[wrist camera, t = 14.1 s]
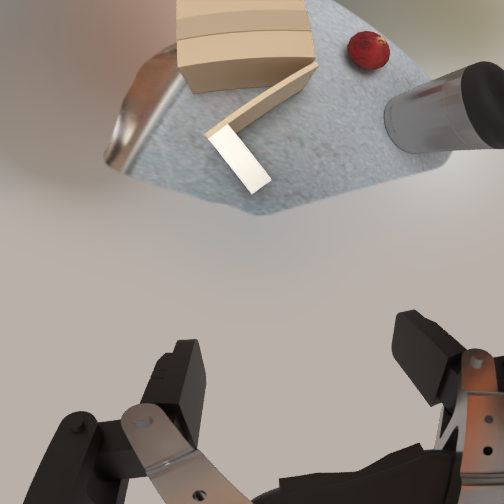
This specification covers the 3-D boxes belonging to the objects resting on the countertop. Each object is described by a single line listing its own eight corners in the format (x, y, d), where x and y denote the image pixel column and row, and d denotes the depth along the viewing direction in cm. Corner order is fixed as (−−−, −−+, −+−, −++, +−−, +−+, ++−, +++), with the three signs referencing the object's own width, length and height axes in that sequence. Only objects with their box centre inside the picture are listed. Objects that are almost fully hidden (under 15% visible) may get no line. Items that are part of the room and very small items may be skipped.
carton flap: (298, 86, 32) (315, 61, 24) (333, 130, 34) (359, 118, 25) (213, 145, 34) (204, 134, 25) (249, 190, 36) (252, 194, 27)
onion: (344, 74, 32) (366, 54, 25) (337, 41, 31) (356, 17, 23) (379, 77, 32) (406, 60, 25) (372, 45, 31) (395, 25, 23)
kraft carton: (288, 27, 30) (301, -10, 20) (297, 85, 33) (316, 56, 23) (190, 35, 30) (176, -2, 20) (193, 94, 33) (177, 66, 23)
